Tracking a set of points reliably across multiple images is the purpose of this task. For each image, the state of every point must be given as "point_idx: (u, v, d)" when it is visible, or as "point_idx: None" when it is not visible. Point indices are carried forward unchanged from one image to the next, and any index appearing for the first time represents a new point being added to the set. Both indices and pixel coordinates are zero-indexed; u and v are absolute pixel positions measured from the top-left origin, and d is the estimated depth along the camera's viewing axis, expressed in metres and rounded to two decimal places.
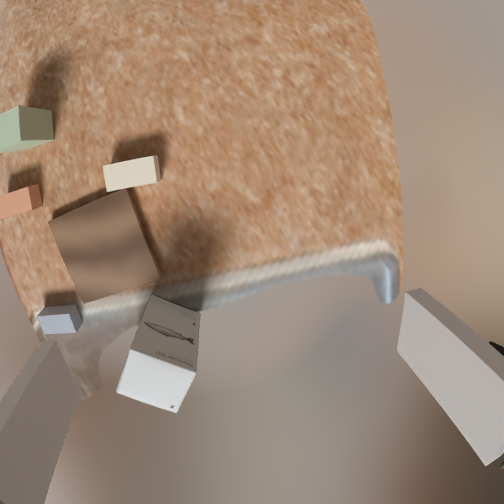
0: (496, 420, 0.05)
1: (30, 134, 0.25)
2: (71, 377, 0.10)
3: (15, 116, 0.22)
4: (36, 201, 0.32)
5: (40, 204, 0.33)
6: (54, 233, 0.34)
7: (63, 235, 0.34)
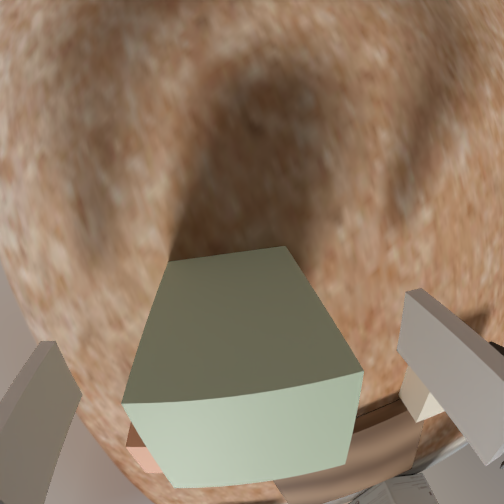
0: (496, 420, 0.05)
1: None
2: (71, 377, 0.10)
3: (334, 410, 0.06)
4: None
5: None
6: None
7: None
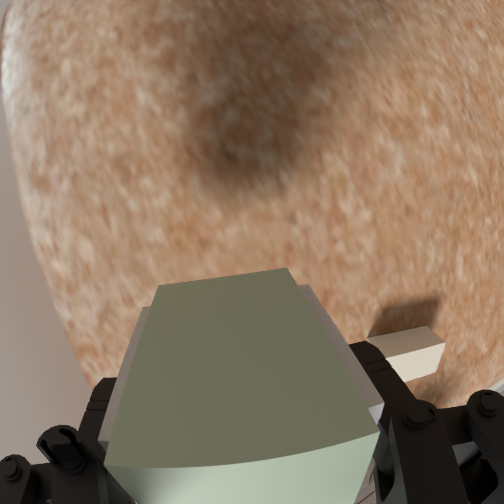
0: None
1: None
2: None
3: (344, 468, 0.05)
4: None
5: None
6: None
7: None
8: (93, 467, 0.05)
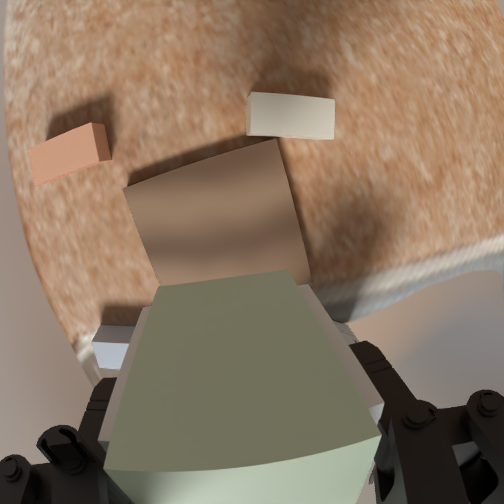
0: None
1: None
2: None
3: (345, 472, 0.05)
4: (102, 150, 0.20)
5: (109, 157, 0.21)
6: (133, 208, 0.22)
7: (152, 212, 0.22)
8: (93, 467, 0.05)
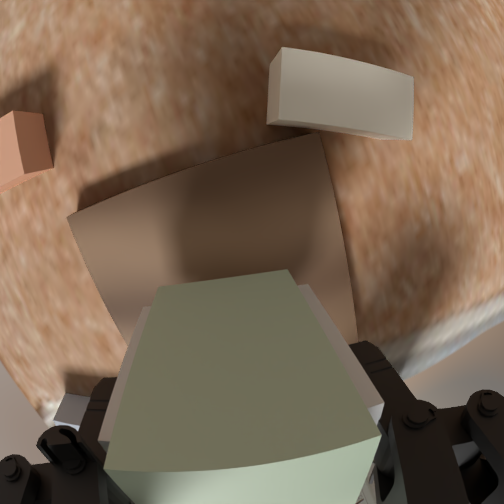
0: None
1: None
2: None
3: (345, 471, 0.05)
4: (34, 153, 0.11)
5: (48, 165, 0.12)
6: (85, 248, 0.13)
7: (114, 255, 0.13)
8: (93, 467, 0.05)
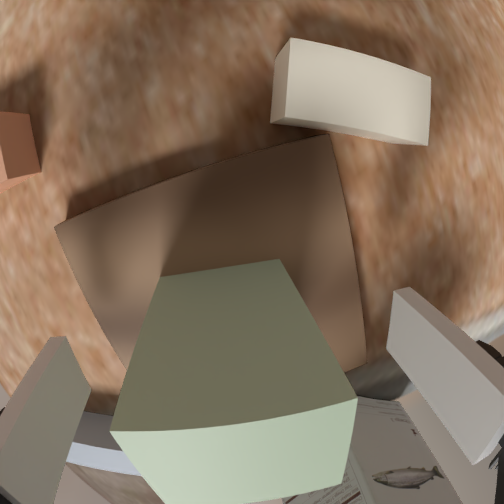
0: (482, 419, 0.05)
1: None
2: (80, 372, 0.10)
3: (327, 436, 0.06)
4: (19, 157, 0.10)
5: (35, 169, 0.11)
6: (74, 261, 0.12)
7: (105, 268, 0.12)
8: None
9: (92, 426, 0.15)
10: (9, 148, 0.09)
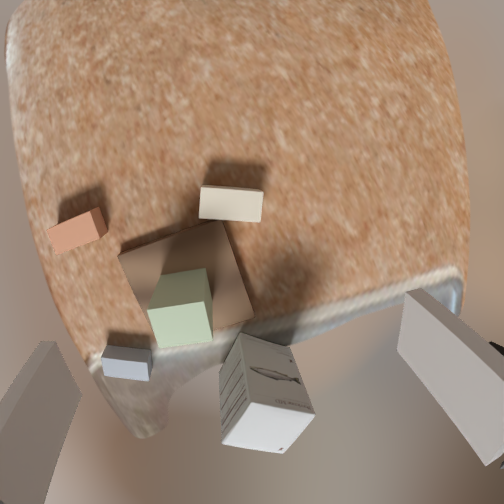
0: (496, 420, 0.05)
1: (211, 321, 0.28)
2: (71, 377, 0.10)
3: (199, 313, 0.26)
4: (101, 227, 0.30)
5: (106, 231, 0.31)
6: (126, 269, 0.32)
7: (138, 272, 0.32)
8: None
9: (125, 352, 0.35)
10: (97, 225, 0.29)
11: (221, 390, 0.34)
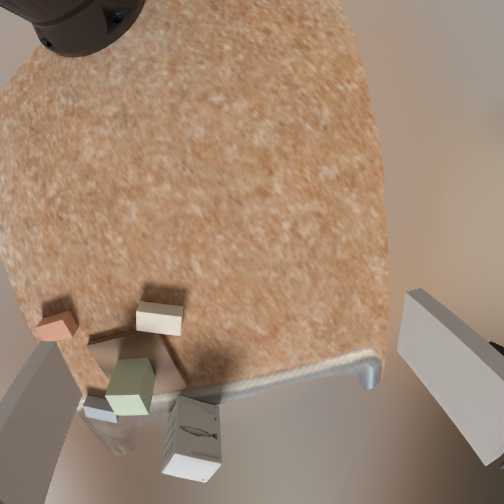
0: (496, 420, 0.05)
1: (149, 399, 0.37)
2: (71, 377, 0.10)
3: (137, 400, 0.34)
4: (72, 327, 0.39)
5: (77, 327, 0.40)
6: (93, 354, 0.41)
7: (102, 356, 0.41)
8: None
9: (100, 402, 0.44)
10: (69, 327, 0.38)
11: (166, 434, 0.43)
